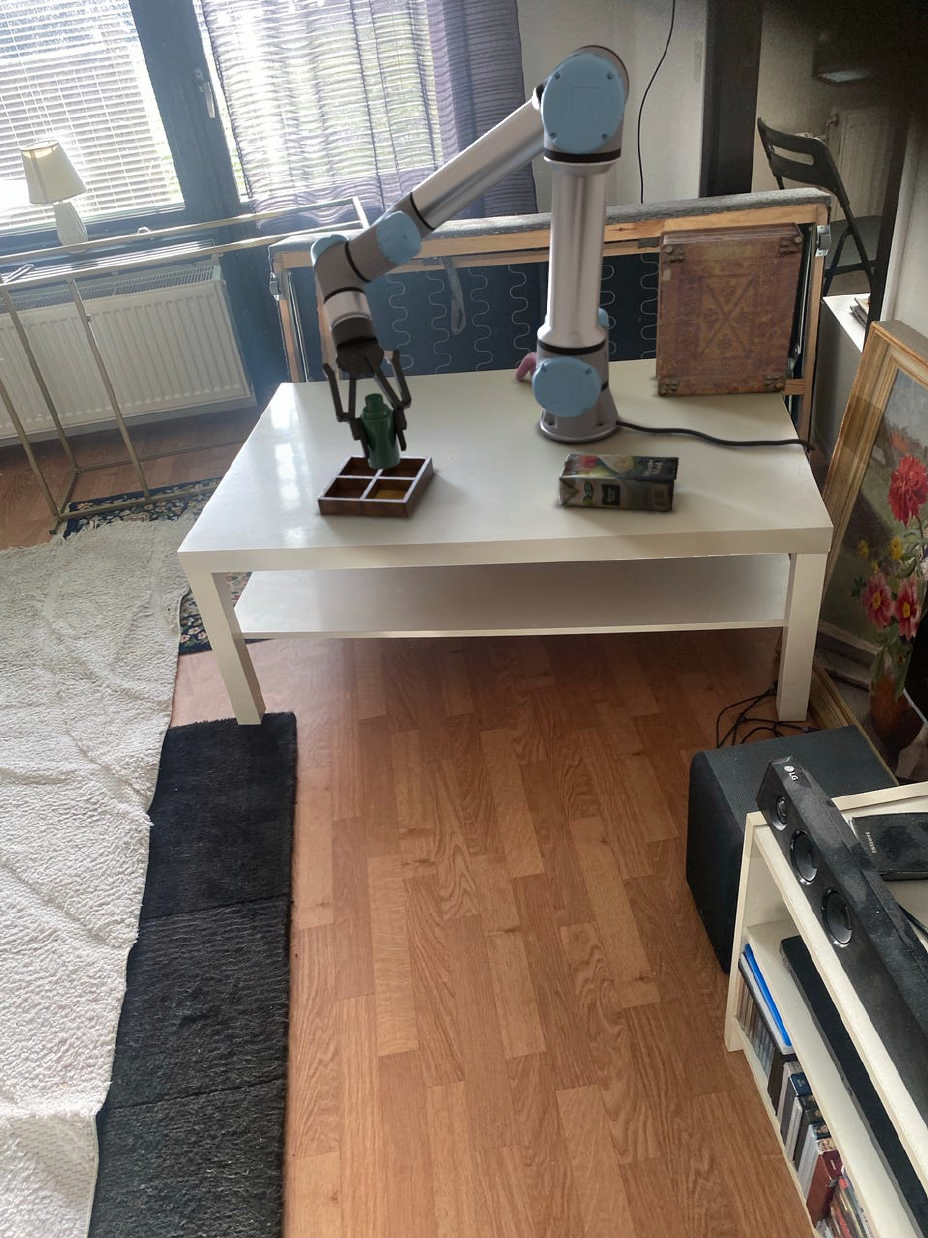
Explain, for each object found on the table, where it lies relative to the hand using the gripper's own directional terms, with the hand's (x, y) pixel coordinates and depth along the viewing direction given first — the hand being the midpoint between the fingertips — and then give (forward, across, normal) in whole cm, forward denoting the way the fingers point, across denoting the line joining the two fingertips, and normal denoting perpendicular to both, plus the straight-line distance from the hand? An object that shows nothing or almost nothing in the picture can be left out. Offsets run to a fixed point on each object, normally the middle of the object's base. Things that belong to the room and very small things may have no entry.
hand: (385, 452), depth 152 cm
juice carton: (+17, -37, 0) cm, 41 cm away
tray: (+2, +1, -15) cm, 15 cm away
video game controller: (-21, -42, -38) cm, 60 cm away
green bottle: (0, 0, -5) cm, 5 cm away
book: (-6, -74, -23) cm, 78 cm away
